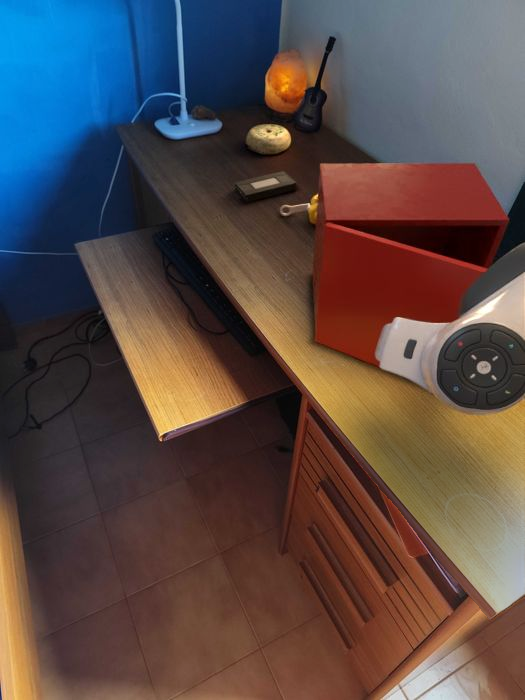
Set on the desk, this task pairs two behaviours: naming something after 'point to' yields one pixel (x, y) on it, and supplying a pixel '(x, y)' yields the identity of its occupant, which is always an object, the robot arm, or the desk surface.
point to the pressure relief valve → (304, 209)
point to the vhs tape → (265, 186)
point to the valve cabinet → (411, 209)
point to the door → (382, 289)
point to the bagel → (268, 139)
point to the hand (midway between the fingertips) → (452, 362)
